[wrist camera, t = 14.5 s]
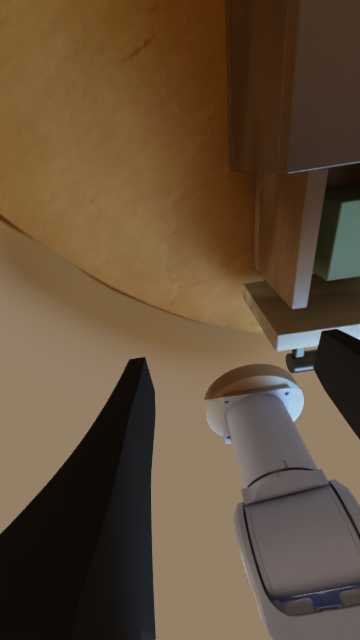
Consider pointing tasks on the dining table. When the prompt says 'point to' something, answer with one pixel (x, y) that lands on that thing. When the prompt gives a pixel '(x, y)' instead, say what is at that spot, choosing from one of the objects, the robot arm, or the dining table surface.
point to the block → (339, 235)
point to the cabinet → (293, 84)
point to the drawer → (298, 265)
